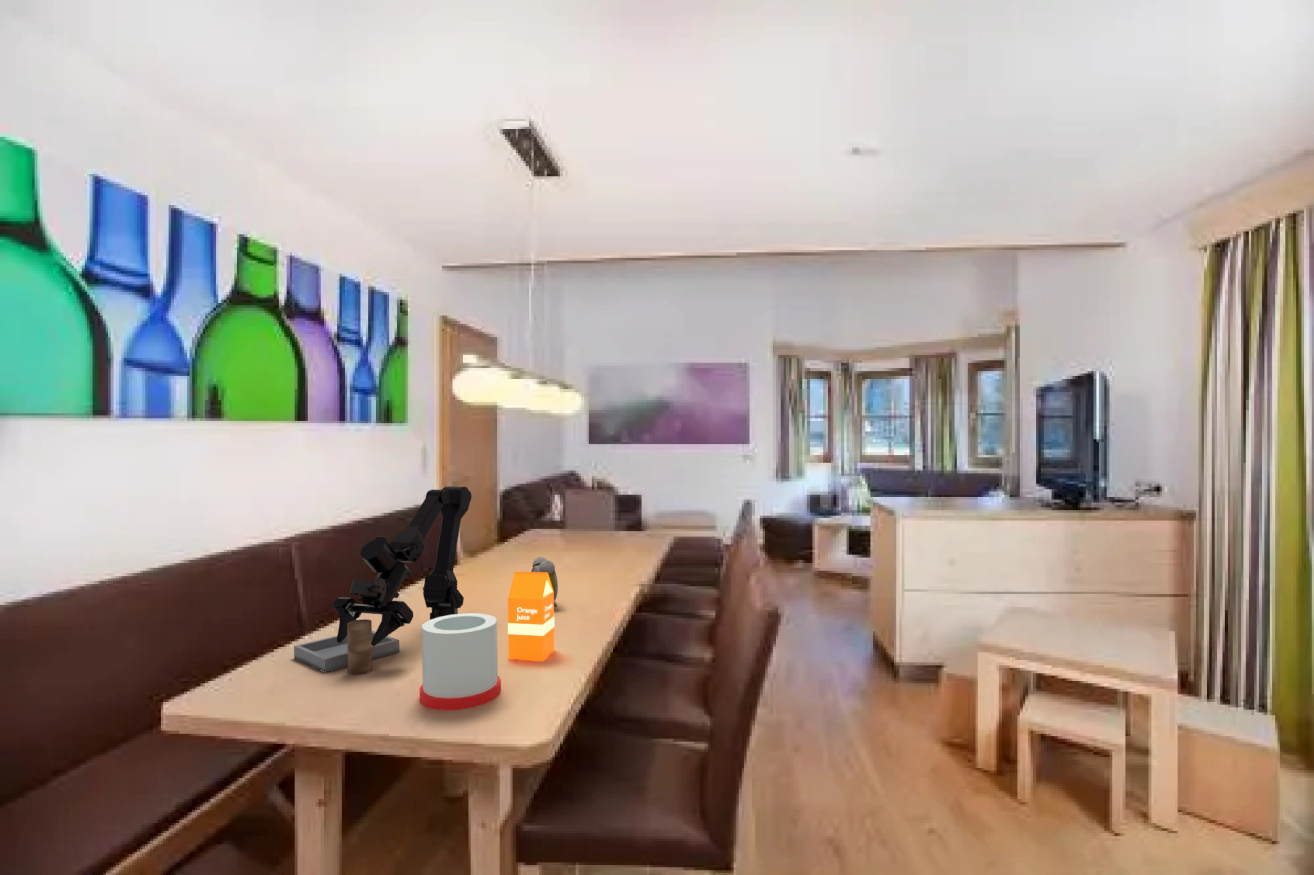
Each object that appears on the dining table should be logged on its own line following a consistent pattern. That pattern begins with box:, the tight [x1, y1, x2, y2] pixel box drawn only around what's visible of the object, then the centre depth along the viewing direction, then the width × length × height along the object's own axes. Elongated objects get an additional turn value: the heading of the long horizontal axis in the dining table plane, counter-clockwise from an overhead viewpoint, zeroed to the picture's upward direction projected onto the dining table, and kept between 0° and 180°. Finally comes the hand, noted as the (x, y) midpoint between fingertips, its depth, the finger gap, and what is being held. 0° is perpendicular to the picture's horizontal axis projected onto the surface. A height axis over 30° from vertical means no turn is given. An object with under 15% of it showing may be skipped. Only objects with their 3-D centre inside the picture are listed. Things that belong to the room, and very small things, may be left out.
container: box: [419, 612, 502, 711], centre depth 138 cm, size 16×16×15 cm
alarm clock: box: [530, 556, 559, 607], centre depth 206 cm, size 12×7×15 cm, turn 28°
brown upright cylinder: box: [347, 619, 373, 676], centre depth 153 cm, size 5×5×11 cm
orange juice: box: [507, 571, 555, 662], centre depth 162 cm, size 8×9×20 cm
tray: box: [293, 630, 400, 673], centre depth 164 cm, size 18×16×3 cm
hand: (355, 643), depth 151 cm, fingers open, 9 cm apart
